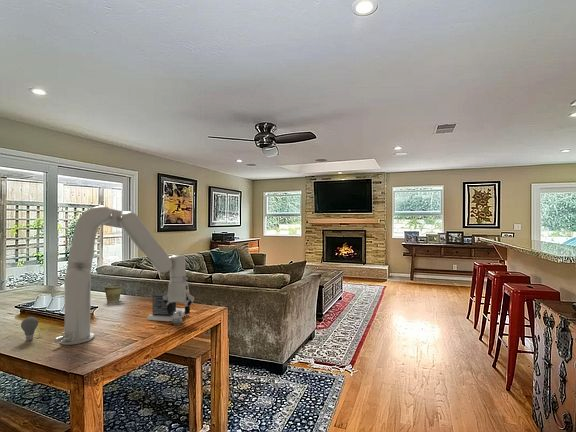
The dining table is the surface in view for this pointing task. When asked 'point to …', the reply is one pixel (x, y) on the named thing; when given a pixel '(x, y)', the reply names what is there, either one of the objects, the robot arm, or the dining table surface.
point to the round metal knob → (177, 317)
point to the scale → (165, 318)
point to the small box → (161, 305)
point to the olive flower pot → (113, 293)
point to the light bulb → (29, 327)
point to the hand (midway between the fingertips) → (178, 313)
